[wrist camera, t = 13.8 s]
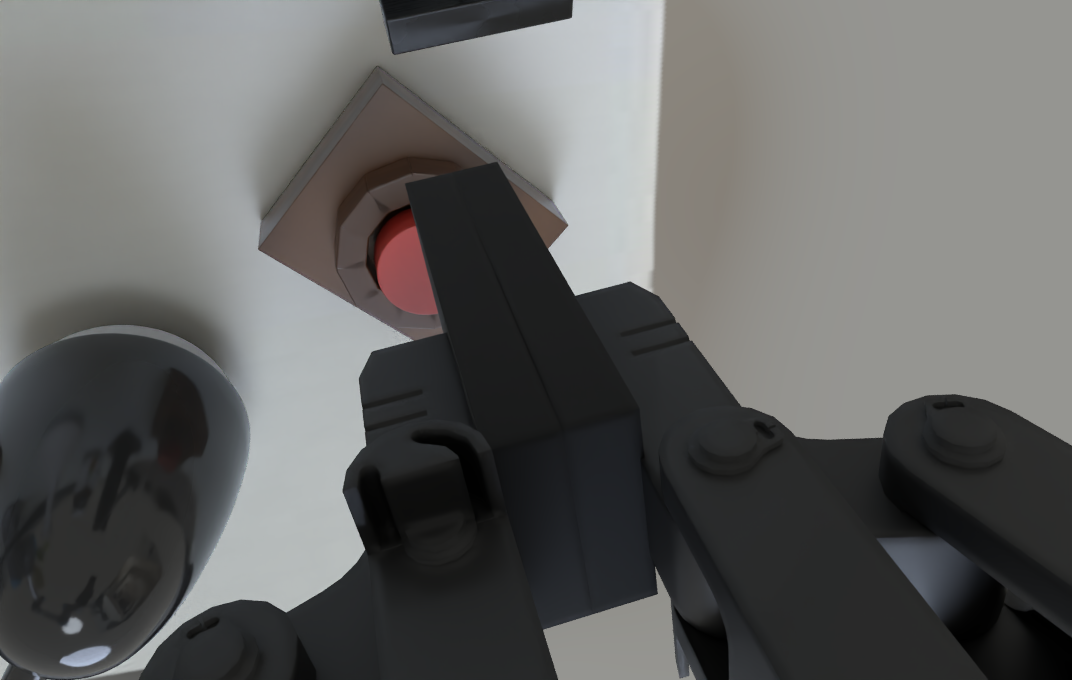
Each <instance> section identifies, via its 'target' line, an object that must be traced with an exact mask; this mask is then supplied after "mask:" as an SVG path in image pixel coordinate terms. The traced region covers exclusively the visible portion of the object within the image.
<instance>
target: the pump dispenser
mask: <svg viewBox="0 0 1072 680" xmlns="http://www.w3.org/2000/svg"><path fill="white" fill-rule="evenodd" d="M249 449H250V424H249V419H248V415H247V411H246V409H245V406H244V404H243V402H242V400H241V398H240V396H239V394H238V393H237V391H236V390H235V388H234V387H233V386H232V384H231V383H230V381H229V380H228V378H227V377H226V375H225V374H224V372H223V371H222V370H221V368H220V367H219V366H218V365H217V364H216V363H215V362H214V361H213V360H212V359H211V358H210V357H209V356H208V355H207V354H206V353H204V352H203V351H202V350H201V349H199V348H198V347H196V346H195V345H193V344H192V343H190V342H188V341H186V340H184V339H183V338H180V337H178V336H176V335H174V334H171V333H168V332H165V331H162V330H158V329H154V328H149V327H144V326H135V325H109V326H101V327H96V328H91V329H87V330H83V331H80V332H77V333H74V334H72V335H69V336H67V337H64V338H62V339H60V340H58V341H56V342H55V343H53V344H50V345H48V346H45V347H43V348H41V349H39V350H37V351H35V352H34V353H32V354H30V355H29V356H27V357H26V358H24V359H23V360H22V361H20V362H19V363H18V364H17V365H15V366H14V367H13V368H12V369H11V370H10V371H9V372H8V373H7V375H6V376H5V377H4V378H3V380H2V381H1V382H0V656H1V657H2V658H3V659H4V660H5V661H7V662H8V663H9V664H8V666H7V668H6V670H5V672H4V674H3V676H2V678H1V680H46V679H51V680H75V679H82V678H88V677H92V676H95V675H98V674H101V673H104V672H106V671H108V670H110V669H112V668H114V667H116V666H118V665H120V664H121V663H123V662H124V661H126V660H127V659H129V658H130V657H132V656H133V655H134V654H136V653H137V652H138V651H139V650H140V649H142V648H143V647H144V646H145V645H146V644H147V643H148V642H149V641H150V640H152V639H153V638H154V637H155V636H156V635H157V634H158V633H159V632H160V631H161V629H162V628H163V627H164V626H165V625H166V624H167V623H168V622H169V620H170V619H171V618H172V617H173V615H174V614H175V613H176V612H177V610H178V609H179V608H180V606H181V605H182V604H183V602H184V601H185V599H186V598H187V596H188V595H189V593H190V592H191V590H192V589H193V587H194V585H195V584H196V582H197V580H198V579H199V577H200V575H201V573H202V572H203V570H204V568H205V566H206V564H207V563H208V561H209V559H210V557H211V555H212V553H213V551H214V549H215V548H216V546H217V544H218V542H219V540H220V538H221V536H222V533H223V531H224V529H225V527H226V525H227V522H228V520H229V518H230V515H231V513H232V510H233V507H234V505H235V502H236V499H237V496H238V493H239V490H240V487H241V484H242V481H243V478H244V474H245V471H246V467H247V462H248V457H249Z"/></svg>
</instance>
